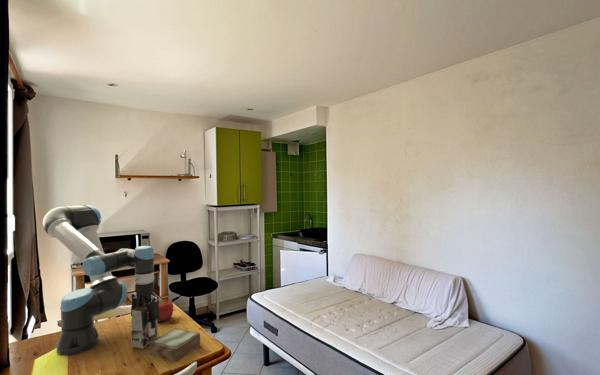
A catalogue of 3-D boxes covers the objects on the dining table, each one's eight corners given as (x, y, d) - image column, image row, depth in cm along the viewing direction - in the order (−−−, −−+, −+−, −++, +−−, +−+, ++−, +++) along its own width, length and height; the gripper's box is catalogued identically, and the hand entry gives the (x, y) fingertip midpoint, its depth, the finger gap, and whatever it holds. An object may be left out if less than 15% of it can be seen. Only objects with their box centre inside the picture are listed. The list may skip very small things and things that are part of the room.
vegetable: (147, 320, 164) (147, 300, 164) (166, 313, 172) (166, 295, 172) (157, 326, 157) (157, 306, 157) (177, 319, 165) (177, 300, 164)
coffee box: (143, 349, 135) (143, 311, 134) (131, 347, 136) (130, 309, 136) (158, 338, 143) (158, 303, 143) (146, 336, 145) (145, 301, 145)
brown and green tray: (150, 354, 131) (149, 342, 131) (175, 339, 144) (174, 327, 144) (176, 361, 126) (176, 348, 126) (200, 344, 139) (199, 332, 139)
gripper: (120, 281, 139) (121, 333, 140) (155, 287, 132) (155, 342, 133) (135, 276, 146) (135, 326, 147) (168, 282, 139) (169, 334, 140)
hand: (145, 333), depth 140 cm, fingers closed on coffee box, 7 cm apart
